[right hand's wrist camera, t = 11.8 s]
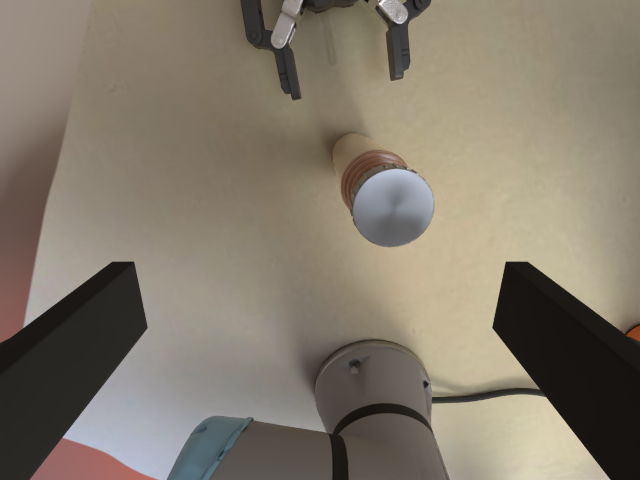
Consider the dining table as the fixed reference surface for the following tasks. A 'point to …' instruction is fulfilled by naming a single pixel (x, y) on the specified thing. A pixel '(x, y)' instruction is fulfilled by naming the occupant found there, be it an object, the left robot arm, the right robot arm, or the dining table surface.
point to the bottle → (358, 160)
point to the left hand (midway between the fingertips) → (346, 89)
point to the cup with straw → (635, 333)
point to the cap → (391, 205)
